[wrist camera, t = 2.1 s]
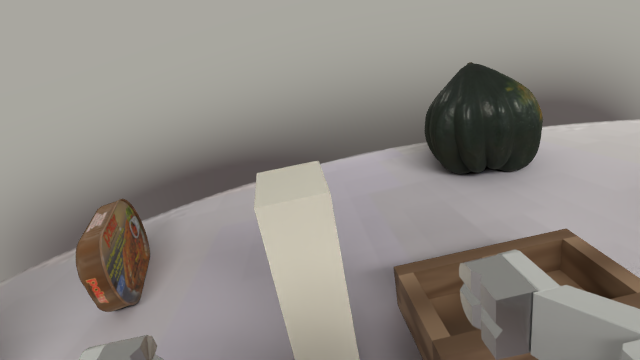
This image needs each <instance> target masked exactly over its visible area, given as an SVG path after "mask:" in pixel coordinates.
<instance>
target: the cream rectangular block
mask: <svg viewBox="0 0 640 360" xmlns="http://www.w3.org/2000/svg"><path fill="white" fill-rule="evenodd" d="M254 210H255V214H256V217H257V221H258V225H259V228H260V232H261V236H262V240H263V243H264V247H265V251H266V254H267V258H268V262H269V266H270V269H271V273H272V277H273V280H274V284H275V288H276V292H277V295H278V299H279V303H280V306H281V310H282V314H283V318H284V321H285V325H286V329H287V332H288V336H289V340H290V344H291V347H292V351H293V355H294V358H295V360H359V354H358V348H357V343H356V337H355V331H354V326H353V320H352V314H351V309H350V303H349V297H348V291H347V286H346V280H345V274H344V269H343V263H342V257H341V252H340V246H339V240H338V235H337V229H336V223H335V217H334V212H333V206H332V200H331V195H330V191H329V188H328V185H327V183H326V180H325V177H324V174H323V172H322V169H321V166H320V164H319V161H315V162H310V163H305V164H300V165H295V166H290V167H285V168H281V169H276V170H270V171H266V172H261V173H257V178H256V190H255V202H254Z"/></svg>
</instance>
